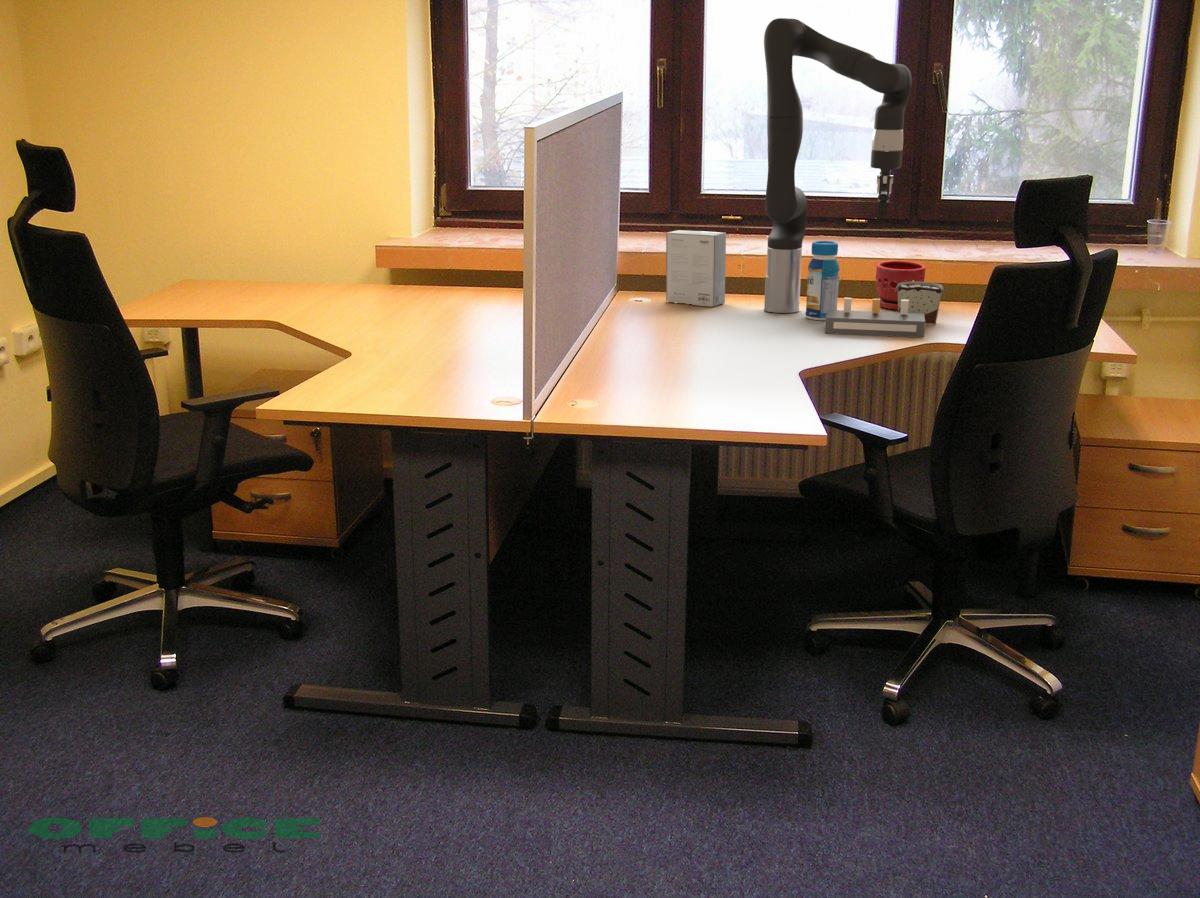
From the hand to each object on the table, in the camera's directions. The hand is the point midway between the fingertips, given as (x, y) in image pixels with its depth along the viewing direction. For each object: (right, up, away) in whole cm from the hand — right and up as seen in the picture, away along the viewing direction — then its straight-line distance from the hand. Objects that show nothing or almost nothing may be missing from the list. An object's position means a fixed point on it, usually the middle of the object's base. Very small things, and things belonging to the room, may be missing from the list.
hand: (882, 215), depth 295 cm
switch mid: (-2, -25, 0) cm, 25 cm away
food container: (+12, -26, +11) cm, 31 cm away
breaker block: (-2, -29, 0) cm, 29 cm away
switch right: (+5, -25, -1) cm, 26 cm away
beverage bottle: (-13, -24, +16) cm, 32 cm away
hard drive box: (-44, -18, +37) cm, 60 cm away
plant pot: (+11, -20, +29) cm, 37 cm away
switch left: (-8, -24, +2) cm, 26 cm away
